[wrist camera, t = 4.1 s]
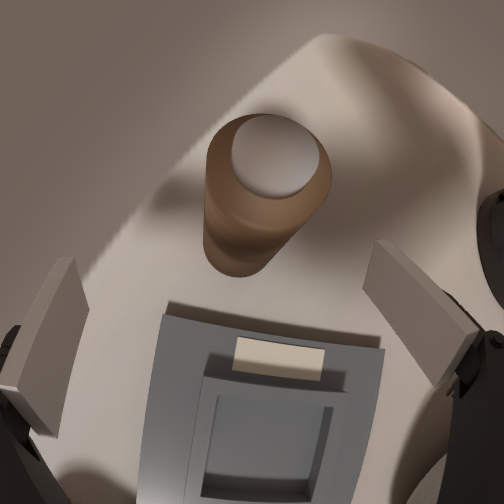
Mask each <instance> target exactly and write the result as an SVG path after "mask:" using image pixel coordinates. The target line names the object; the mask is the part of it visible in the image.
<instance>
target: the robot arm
mask: <svg viewBox="0 0 504 504" xmlns="http://www.w3.org/2000/svg"><path fill="white" fill-rule="evenodd" d="M478 243H479V250H480V256H481V261H482V265H483V269H484V272H485V275H486V278H487V281H488V284H489V286H490V289H491V291H492V293H493V295H494V297H495V298H496V300H497V302H498V303H499V305H500V306H501V307H502V308H503V309H504V189H501V190H499V191H497V192H495V193H494V194H492V195H490V196H489V197H487V198H486V199H485V200H484V202H483V203H482V206H481V208H480V212H479V217H478ZM362 289H363V290H364V291H365V292H366V294H367V295H368V296H369V298H370V299H371V300H372V302H373V303H374V304H375V306H376V307H377V308H378V309H379V311H380V312H381V313H382V315H383V316H384V317H385V319H386V320H387V322H388V323H389V324H390V326H391V327H392V328H393V330H394V331H395V332H396V334H397V335H398V337H399V338H400V339H401V341H402V342H403V343H404V345H405V346H406V348H407V349H408V350H409V352H410V353H411V355H412V356H413V358H414V359H415V360H416V362H417V363H418V365H419V366H420V368H421V369H422V370H423V372H424V373H425V375H426V376H427V378H428V379H429V381H430V382H431V384H432V385H433V387H434V388H435V387H437V386H439V385H442V384H444V383H446V382H448V381H449V379H450V378H451V376H452V375H453V373H454V372H456V374H457V375H458V377H457V379H456V380H455V382H454V383H453V384H452V386H451V387H450V389H449V390H448V391H447V394H446V396H449V395H450V393H451V392H452V391H453V390H454V394H453V395H452V397H453V398H454V401H453V412H452V422H451V430H450V438H449V445H448V451H447V457H446V463H445V468H444V473H443V478H442V483H441V487H440V491H439V495H438V499H437V503H436V504H504V335H502V334H501V333H499V332H497V331H493V330H490V331H487V332H486V331H485V330H484V329H483V328H482V327H481V326H480V325H479V324H478V323H477V322H476V321H475V319H474V318H473V317H472V316H471V315H470V314H469V313H468V312H467V311H465V310H464V308H463V307H462V306H461V305H459V303H458V302H457V301H456V300H455V299H454V298H453V297H452V296H451V295H450V294H448V293H447V292H445V291H444V290H442V289H441V288H440V287H439V286H437V285H436V284H435V283H434V282H433V281H432V280H431V279H430V278H429V277H428V276H427V275H426V274H425V273H424V272H423V271H422V270H421V269H420V268H419V267H418V266H417V265H416V264H415V263H414V262H413V261H412V260H410V259H409V258H408V257H407V256H406V255H405V254H404V253H403V252H402V251H401V250H400V249H399V248H397V247H396V246H395V245H394V244H393V243H392V242H391V241H390V240H389V239H378V240H375V242H374V246H373V250H372V254H371V258H370V262H369V266H368V270H367V274H366V277H365V281H364V285H363V288H362ZM89 310H90V309H89V306H88V303H87V300H86V297H85V293H84V290H83V287H82V283H81V280H80V276H79V273H78V269H77V265H76V261H75V258H74V257H63V258H58V260H57V261H56V263H55V265H54V266H53V268H52V270H51V271H50V273H49V275H48V277H47V278H46V280H45V282H44V284H43V285H42V287H41V289H40V291H39V293H38V294H37V296H36V298H35V300H34V302H33V304H32V306H31V308H30V310H29V311H28V313H27V315H26V317H25V319H24V321H23V323H22V325H15V326H14V327H13V328H12V329H11V330H10V331H9V332H8V333H7V334H6V336H5V338H4V340H3V342H2V344H1V348H0V504H72V503H71V501H70V500H69V498H68V497H67V496H66V494H65V493H64V491H63V490H62V488H61V487H60V485H59V484H58V482H57V481H56V479H55V478H54V476H53V475H52V473H51V471H50V470H49V468H48V466H47V465H46V463H45V461H44V460H43V458H42V456H41V455H40V453H39V451H38V449H37V447H36V446H35V444H34V442H33V440H32V439H31V438H30V436H29V431H30V427H31V428H32V429H33V430H34V431H35V432H36V433H37V434H38V436H44V437H50V438H57V439H58V433H59V427H60V422H61V417H62V412H63V407H64V402H65V397H66V393H67V388H68V384H69V380H70V376H71V372H72V368H73V364H74V360H75V356H76V353H77V349H78V346H79V342H80V339H81V335H82V332H83V329H84V325H85V322H86V319H87V316H88V313H89Z"/></svg>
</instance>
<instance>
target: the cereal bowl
mask: <svg viewBox="0 0 504 504" xmlns="http://www.w3.org/2000/svg"><path fill="white" fill-rule="evenodd" d="M446 457H447V453H446V454H445V455H444V456H443V457H442V458H441V459H440V460H439V461H438V462H437V463H436V464H435V465H434V466H433V467H432V468H431V469H430V471H429V472H428V473H427V474H426V476H425V477H424V478H423V479H422V480H421V481H420V483H419V484H418V486H417V487H416V489H415V490H414V491H413V493H412V494H411V496H410V498H409V500H408V501H407V503H406V504H436V503H437V499H438V495H439V491H440V487H441V483H442V478H443V473H444V468H445V463H446Z"/></svg>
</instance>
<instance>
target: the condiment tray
mask: <svg viewBox="0 0 504 504" xmlns="http://www.w3.org/2000/svg"><path fill="white" fill-rule="evenodd" d="M384 354H385V349H379V348H369V347H359V346H350V345H341V344H333V343H325V342H317V341H310V340H303V339H296V338H289V337H282V336H276V335H270V334H264V333H258V332H252V331H246V330H240V329H235V328H230V327H224V326H219V325H214V324H209V323H204V322H199V321H194V320H189V319H185V318H180V317H176V316H171V315H167V314H163V315H162V320H161V325H160V330H159V335H158V340H157V346H156V351H155V357H154V363H153V369H152V375H151V381H150V387H149V394H148V400H147V407H146V414H145V422H144V429H143V437H142V446H141V455H140V464H139V474H138V486H137V498H136V504H351V501H352V498H353V494H354V491H355V488H356V485H357V481H358V478H359V475H360V471H361V467H362V464H363V460H364V456H365V452H366V448H367V444H368V440H369V436H370V432H371V427H372V423H373V418H374V413H375V408H376V403H377V398H378V392H379V386H380V381H381V374H382V368H383V361H384Z"/></svg>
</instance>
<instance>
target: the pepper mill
mask: <svg viewBox="0 0 504 504" xmlns="http://www.w3.org/2000/svg"><path fill="white" fill-rule="evenodd" d="M331 180H332V170H331V164H330V161H329V158H328V155H327V153H326V151H325V149H324V148H323V146H322V144H321V143H320V142H319V140H318V139H317V138H316V137H315V136H314V135H313V134H312V133H311V132H310V131H309V130H307V129H306V128H305V127H303V126H302V125H300V124H298V123H297V122H295V121H293V120H291V119H288V118H285V117H282V116H278V115H273V114H251V115H246V116H242V117H239V118H237V119H234V120H232V121H230V122H229V123H227V124H226V125H224V126H223V127H222V128H221V129H220V130H219V131H218V132H217V133H216V135H215V136H214V137H213V139H212V141H211V143H210V145H209V148H208V152H207V161H206V180H205V203H204V232H203V247H204V252H205V255H206V257H207V259H208V261H209V262H210V263H211V265H212V266H213V267H214V268H215V269H216V270H218V271H219V272H221V273H223V274H225V275H227V276H231V277H247V276H251V275H253V274H256V273H257V272H259V271H260V270H261V269H263V268H264V267H265V266H266V264H267V263H268V262H269V261H270V260H271V259H272V258H273V257H274V256H275V255H276V254H277V252H278V251H279V250H280V249H281V248H282V247H283V246H284V245H285V244H286V243H287V242H288V240H289V239H290V238H291V237H292V236H293V235H294V234H295V233H296V232H297V231H298V229H299V228H300V227H301V226H302V225H303V224H304V223H305V222H306V221H307V220H308V218H309V217H310V216H311V215H312V214H313V213H314V212H315V211H316V210H317V208H318V207H319V206H320V205H321V204H322V203H323V201H324V200H325V198H326V196H327V194H328V192H329V189H330V186H331Z"/></svg>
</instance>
